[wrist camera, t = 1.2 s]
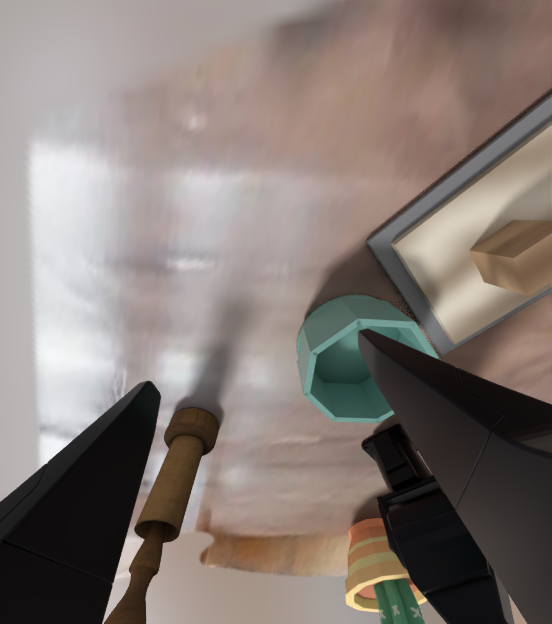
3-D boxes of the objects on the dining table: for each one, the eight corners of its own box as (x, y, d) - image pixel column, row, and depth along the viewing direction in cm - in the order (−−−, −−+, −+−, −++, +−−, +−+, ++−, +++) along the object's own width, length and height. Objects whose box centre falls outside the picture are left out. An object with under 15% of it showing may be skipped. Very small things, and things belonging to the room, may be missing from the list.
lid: (584, 259, 22) (664, 270, 17) (449, 340, 25) (488, 367, 21) (548, 121, 17) (645, 89, 13) (390, 243, 21) (423, 251, 16)
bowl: (417, 346, 26) (457, 380, 21) (334, 397, 29) (349, 440, 24) (365, 270, 22) (396, 288, 17) (275, 338, 25) (277, 373, 20)
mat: (595, 259, 22) (604, 260, 22) (439, 353, 26) (442, 356, 26) (555, 90, 17) (565, 85, 16) (365, 241, 21) (368, 241, 20)
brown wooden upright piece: (164, 410, 29) (24, 669, 12) (213, 404, 29) (138, 659, 12) (179, 443, 32) (80, 694, 15) (223, 439, 31) (174, 686, 15)
